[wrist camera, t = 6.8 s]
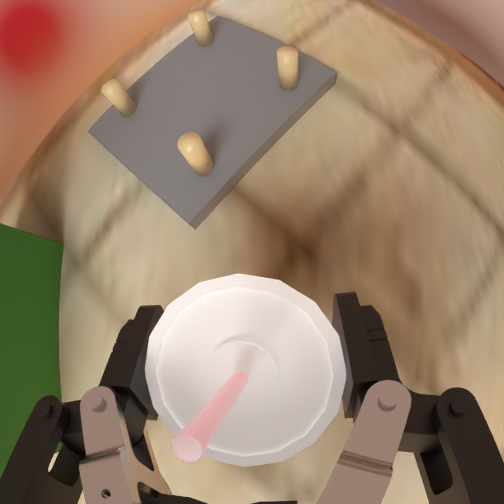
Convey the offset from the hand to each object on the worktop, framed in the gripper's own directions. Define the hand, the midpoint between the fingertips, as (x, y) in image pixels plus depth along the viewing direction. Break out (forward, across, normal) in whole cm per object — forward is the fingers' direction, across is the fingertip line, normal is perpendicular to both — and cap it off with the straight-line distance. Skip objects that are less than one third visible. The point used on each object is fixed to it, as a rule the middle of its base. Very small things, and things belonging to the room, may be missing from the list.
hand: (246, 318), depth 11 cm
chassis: (+18, +3, -5) cm, 19 cm away
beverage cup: (+4, 0, +6) cm, 7 cm away
